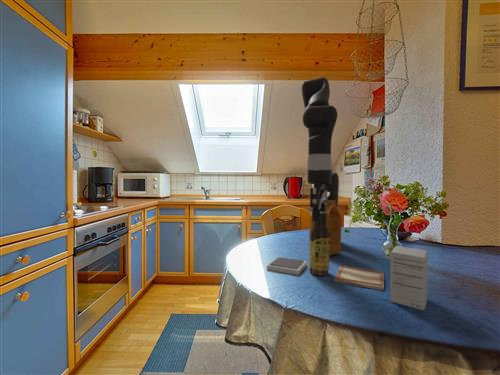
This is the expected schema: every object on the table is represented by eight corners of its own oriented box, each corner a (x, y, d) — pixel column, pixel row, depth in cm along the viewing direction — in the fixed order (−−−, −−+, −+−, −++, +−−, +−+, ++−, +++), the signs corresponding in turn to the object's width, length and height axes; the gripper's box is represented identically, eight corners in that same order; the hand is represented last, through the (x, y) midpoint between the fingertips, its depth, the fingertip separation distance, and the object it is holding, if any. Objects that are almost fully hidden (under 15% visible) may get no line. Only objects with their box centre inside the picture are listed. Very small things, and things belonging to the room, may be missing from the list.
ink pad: (277, 261, 95) (277, 256, 95) (306, 265, 90) (306, 260, 90) (266, 269, 86) (266, 264, 86) (298, 275, 81) (298, 269, 81)
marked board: (340, 268, 87) (340, 265, 87) (383, 274, 81) (383, 271, 81) (334, 281, 75) (334, 278, 75) (383, 290, 70) (383, 286, 70)
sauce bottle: (315, 277, 79) (315, 213, 78) (305, 270, 85) (305, 211, 84) (333, 275, 81) (334, 212, 80) (323, 268, 87) (323, 210, 86)
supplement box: (394, 291, 69) (395, 245, 69) (427, 299, 64) (428, 250, 64) (388, 301, 63) (389, 251, 63) (424, 311, 59) (425, 257, 58)
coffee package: (323, 247, 113) (323, 198, 112) (344, 254, 102) (345, 200, 101) (305, 250, 109) (305, 198, 108) (325, 258, 98) (325, 201, 97)
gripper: (313, 170, 90) (312, 215, 90) (301, 168, 77) (301, 221, 78) (335, 169, 86) (334, 217, 87) (327, 167, 74) (326, 223, 74)
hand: (319, 219), depth 82 cm, fingers open, 8 cm apart
